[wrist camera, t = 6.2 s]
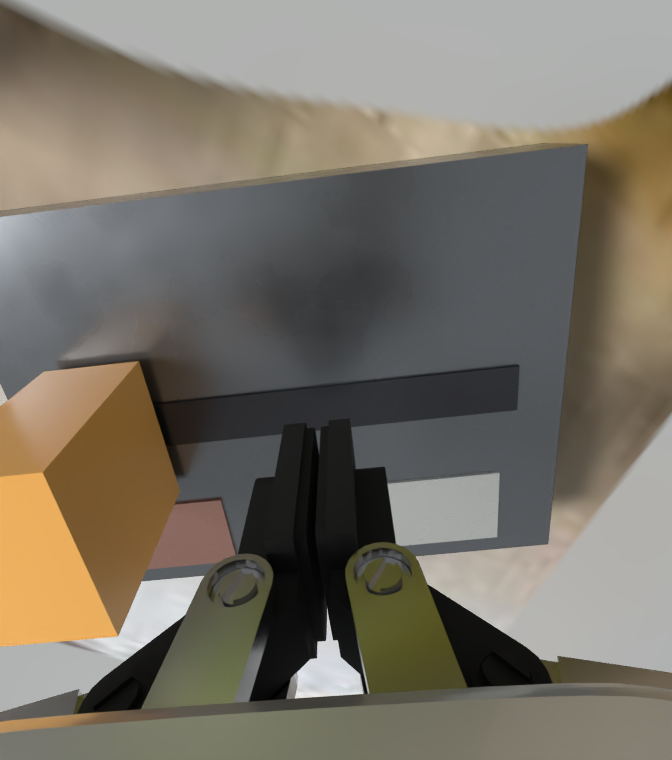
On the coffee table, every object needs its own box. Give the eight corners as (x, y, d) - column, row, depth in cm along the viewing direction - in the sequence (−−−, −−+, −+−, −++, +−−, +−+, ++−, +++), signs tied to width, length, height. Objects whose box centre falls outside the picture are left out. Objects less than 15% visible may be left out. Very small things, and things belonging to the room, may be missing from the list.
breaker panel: (543, 143, 16) (589, 144, 13) (521, 493, 22) (549, 546, 19) (-7, 211, 16) (-76, 226, 14) (122, 531, 22) (92, 587, 20)
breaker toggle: (138, 360, 15) (42, 472, 10) (180, 491, 17) (118, 636, 12) (43, 371, 15) (-99, 486, 10) (96, 499, 17) (0, 646, 12)
